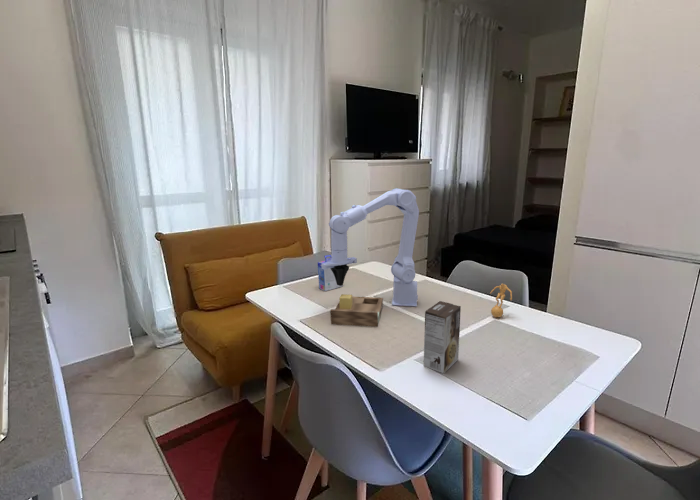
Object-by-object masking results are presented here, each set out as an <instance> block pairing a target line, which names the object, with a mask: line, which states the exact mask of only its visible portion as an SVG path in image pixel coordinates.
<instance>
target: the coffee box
mask: <svg viewBox="0 0 700 500" xmlns="http://www.w3.org/2000/svg"><path fill="white" fill-rule="evenodd" d="M461 307H462V306H461V305H456V304H453V303H449V302H445V301H441V300H440V301H437V303H435V304H434V305H432V306H431V307H429V308H428V309H426V310H425V311H424V339H423V341H424V344H423V345H424V346H423V367H425V368H427V369H431V370H433V371H435V372H439V373H442V374H445V373H447V371H448V370H449V369H450V368H451V367H452V366H453V365H454V364H455V363H456V362H457V361H458V360H459V353H460V352H459V350H460V348H459V347H460V331H461V330H460V329H461V326H460V325H461V311H462V309H461Z"/></svg>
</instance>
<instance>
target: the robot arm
mask: <svg viewBox="0 0 700 500" xmlns="http://www.w3.org/2000/svg"><path fill="white" fill-rule="evenodd" d="M385 206H394V207H396V208H398V210H399V211H400V212H401V213H402V214H403V220H402V227H401V233H400V240H399V246H398V252H397V256H396V257H395V258H394V261H393V264H392V265H391V267H390V272H391V274H392V275H393V282H392V283H393V292H392V294H393V295H392V296H393V297H392V299H391V306H399V307H400V306H401V307H403V306H404V307H417V306H418V305H417V304H418V299H419V298H418V297H419V295H418V281H416V280H414V279H415V278H416V271H415V262H414V259H413V253H414V249H415V248H414V247H415V243H416V242H415V241H416V235H417V234H416V233H417V228H418V223H419V222H418V221H419V215H420V209H419V206H418V203H417V196H416V195H415V194H414V192H413V191H412V190H410V189H403V188H402V189H401V188H398V187H397V188H396V187H395V188H393V189H391V190H388V191H386V192H384V193H383V194H381V195H380V196H378V197H376V198H375V199H372V200H371V201H369V202H367V203H366V204H364V205H360V204H357V205H356V204H353V205H351V208H348V209H347V210H345V211H341V212H339V214H335V215H333V216H331V218H330V219H329V222H328V226H329V229H331V230H330V231H331V232H330V233H331V235H330V244H331V246H330V248H331V256H332V259H331V261H328V262H326V263H322V269H323V270H327V269H329V268H330V269H331V270H332V272H333V274H334V276H335V279H336V283H337V285H339V286H342V285H343V286H344V282H345V279H346V276H347V273H348V271H349V270H350V266H349V265H352V264H357V263H358V262H357V261H358V260H357V259H358V258H357V257H355V256H352V257H348V231H349V229H350V228H352V227H353V226H355V225H356V224H358V223H361V222H362V221H364V220H366V219H367V216H368V214H370V213H373V212H374V211H377V210H379V209H381V208H383V207H385ZM343 286H342V287H343Z"/></svg>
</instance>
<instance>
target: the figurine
mask: <svg viewBox="0 0 700 500" xmlns="http://www.w3.org/2000/svg"><path fill="white" fill-rule="evenodd" d="M496 289H499V292H498V293H497V296H496V297H495V301H496V304H495V305H494V306H493V307H492V308H491V310H490V313H491V315H492V316H493V317H494V318H501V317H502V316H503V315H504V309H503V308H502V306H503V303H504V301H503V300H504V299H505V298H506V294H505V293H506V291H508V292H510V297H509V300H510V301H512V300H513V291H512V290H511V289H510V288H509V287H508V285H506V284H505V283H501V284H500V285H497V286H495V287H494V288H493V289H492V290H491V291H490V293H489V294H490V295H491V294H492V293H493V292H494V291H495V290H496ZM499 299H500V300H499ZM499 302H500V305H499Z"/></svg>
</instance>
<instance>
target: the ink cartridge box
mask: <svg viewBox="0 0 700 500" xmlns="http://www.w3.org/2000/svg"><path fill="white" fill-rule="evenodd" d="M331 259H332V254H328V255H324V260H321V261H318V262H317V276H318V289H320V290H322V291H324V292H327V291H330V290H334V289H338V288H342V287H343V286H344V284H343V285H342V286H339V285H337V283H336V279H335V276H334V274H333V272H332V270H331V269H330V268H329V269H327V270H323V269H322V263H326V262H328V261H331Z"/></svg>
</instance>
